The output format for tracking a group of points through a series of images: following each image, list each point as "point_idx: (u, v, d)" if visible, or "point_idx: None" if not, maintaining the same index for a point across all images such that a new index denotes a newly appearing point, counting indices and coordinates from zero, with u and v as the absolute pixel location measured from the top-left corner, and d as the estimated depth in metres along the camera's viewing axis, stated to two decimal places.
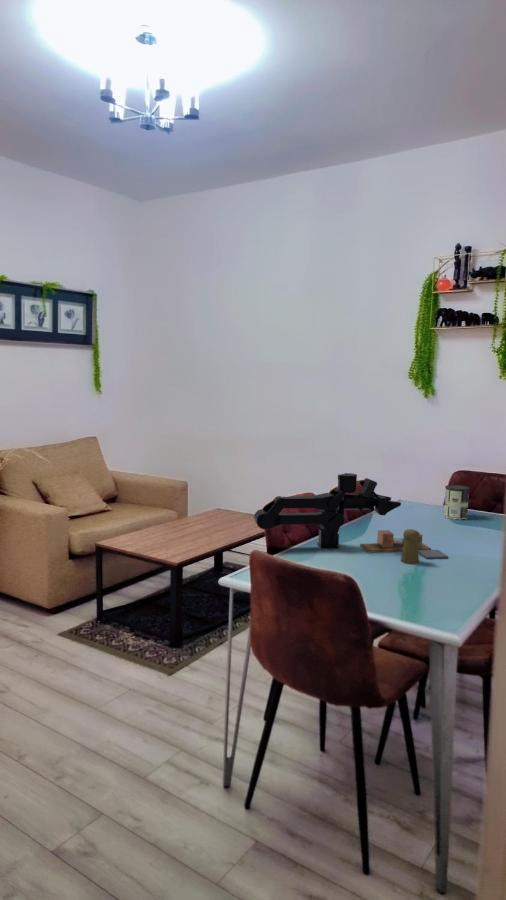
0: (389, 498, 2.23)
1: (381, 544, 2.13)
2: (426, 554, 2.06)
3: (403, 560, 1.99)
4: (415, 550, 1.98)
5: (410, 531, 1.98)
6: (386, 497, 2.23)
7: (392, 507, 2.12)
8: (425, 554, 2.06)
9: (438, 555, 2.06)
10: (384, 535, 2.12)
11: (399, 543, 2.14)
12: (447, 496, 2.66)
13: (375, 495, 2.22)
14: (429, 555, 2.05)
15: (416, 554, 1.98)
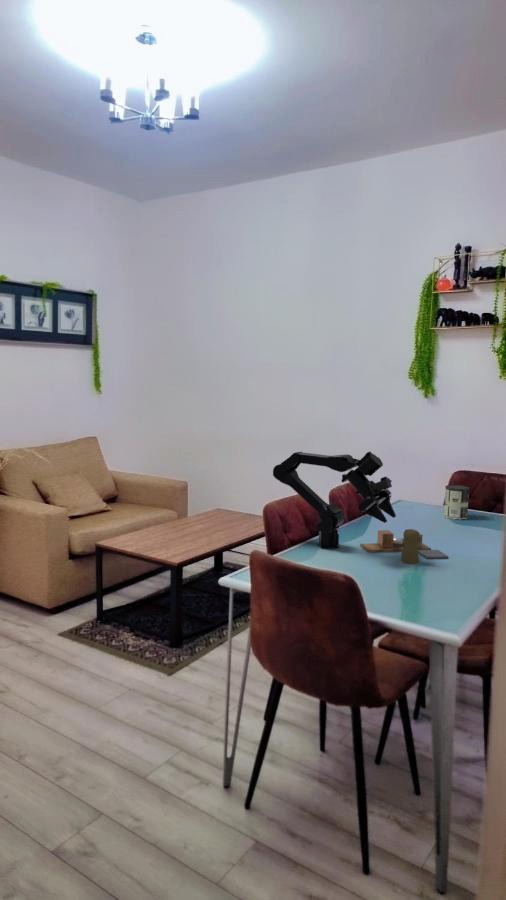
0: (393, 515, 2.07)
1: (381, 544, 2.13)
2: (426, 554, 2.06)
3: (403, 560, 1.99)
4: (415, 550, 1.98)
5: (410, 531, 1.98)
6: (392, 511, 2.07)
7: (376, 515, 2.00)
8: (425, 554, 2.06)
9: (438, 555, 2.06)
10: (384, 535, 2.12)
11: (399, 543, 2.14)
12: (447, 496, 2.66)
13: (386, 501, 2.08)
14: (429, 555, 2.05)
15: (416, 554, 1.98)
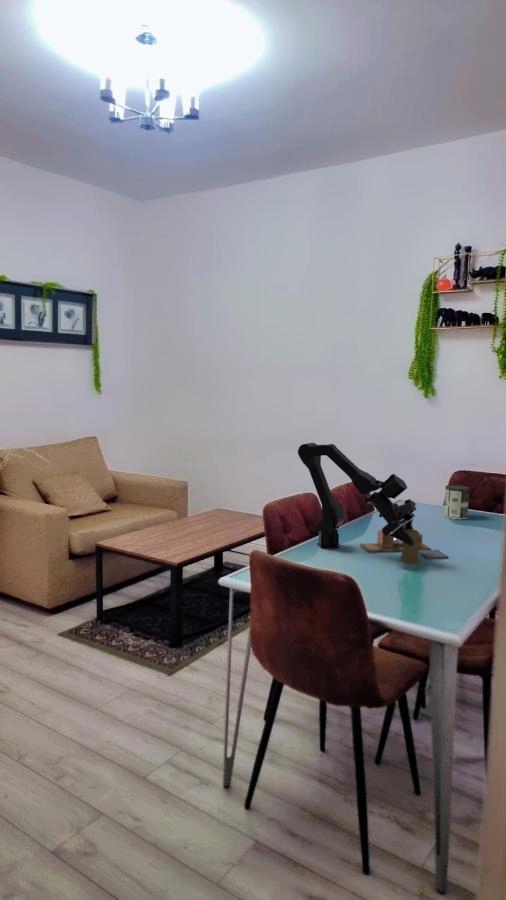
0: None
1: (381, 544, 2.13)
2: (426, 554, 2.06)
3: (403, 560, 1.99)
4: (415, 550, 1.98)
5: (410, 531, 1.98)
6: None
7: (402, 538, 1.97)
8: (425, 554, 2.06)
9: (438, 555, 2.06)
10: (384, 535, 2.12)
11: (399, 543, 2.14)
12: (447, 496, 2.66)
13: (408, 525, 2.03)
14: (429, 555, 2.05)
15: (416, 554, 1.98)
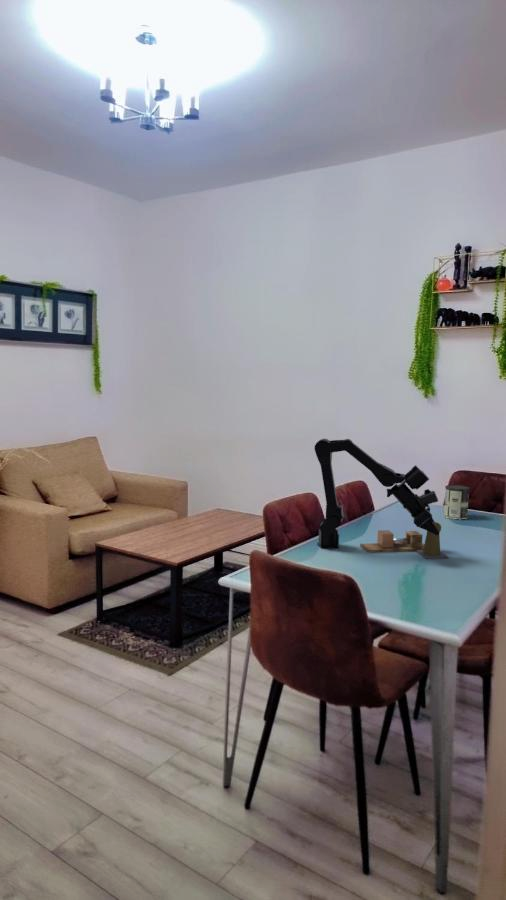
0: None
1: (381, 544, 2.13)
2: (426, 554, 2.06)
3: (427, 552, 2.06)
4: (438, 542, 2.06)
5: (434, 524, 2.05)
6: None
7: (429, 529, 2.02)
8: (425, 554, 2.06)
9: (438, 555, 2.06)
10: (384, 535, 2.12)
11: (399, 543, 2.14)
12: (447, 496, 2.66)
13: None
14: (429, 555, 2.05)
15: (439, 545, 2.06)
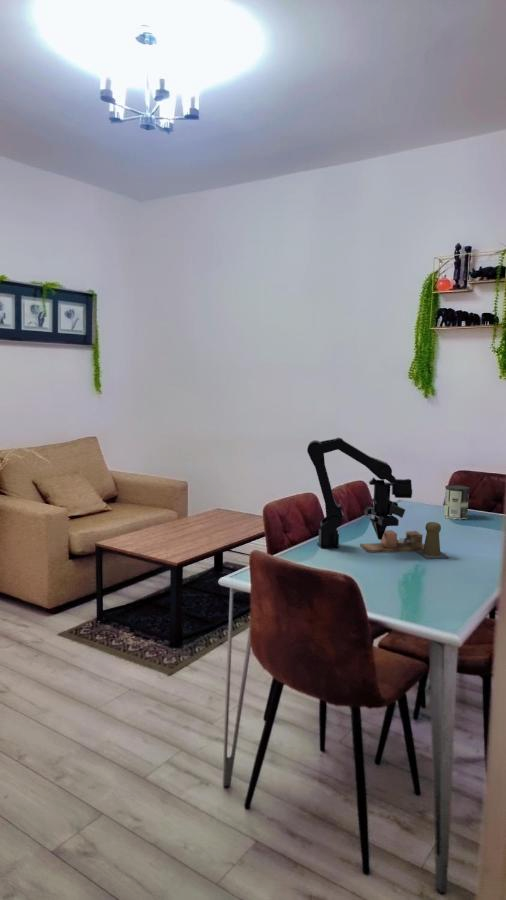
0: None
1: (385, 544, 2.13)
2: None
3: (427, 552, 2.06)
4: (438, 542, 2.06)
5: (433, 524, 2.05)
6: None
7: (379, 530, 2.12)
8: (425, 554, 2.06)
9: (438, 555, 2.06)
10: (388, 535, 2.12)
11: (402, 543, 2.14)
12: (447, 496, 2.66)
13: None
14: (429, 555, 2.05)
15: (439, 545, 2.06)
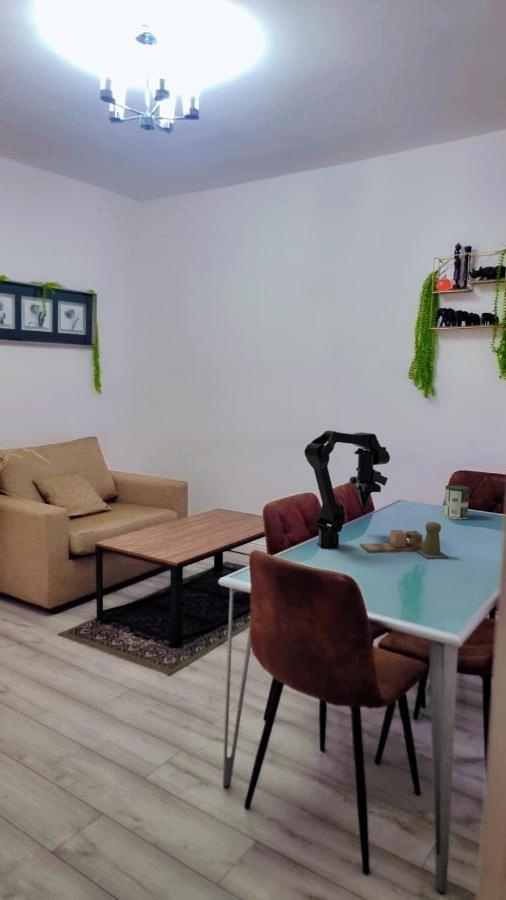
0: None
1: (394, 544, 2.14)
2: None
3: (427, 552, 2.06)
4: (438, 542, 2.06)
5: (433, 524, 2.05)
6: None
7: (362, 497, 2.23)
8: (425, 554, 2.06)
9: (438, 555, 2.06)
10: (397, 535, 2.12)
11: None
12: (447, 496, 2.66)
13: None
14: (429, 555, 2.05)
15: (439, 545, 2.06)
